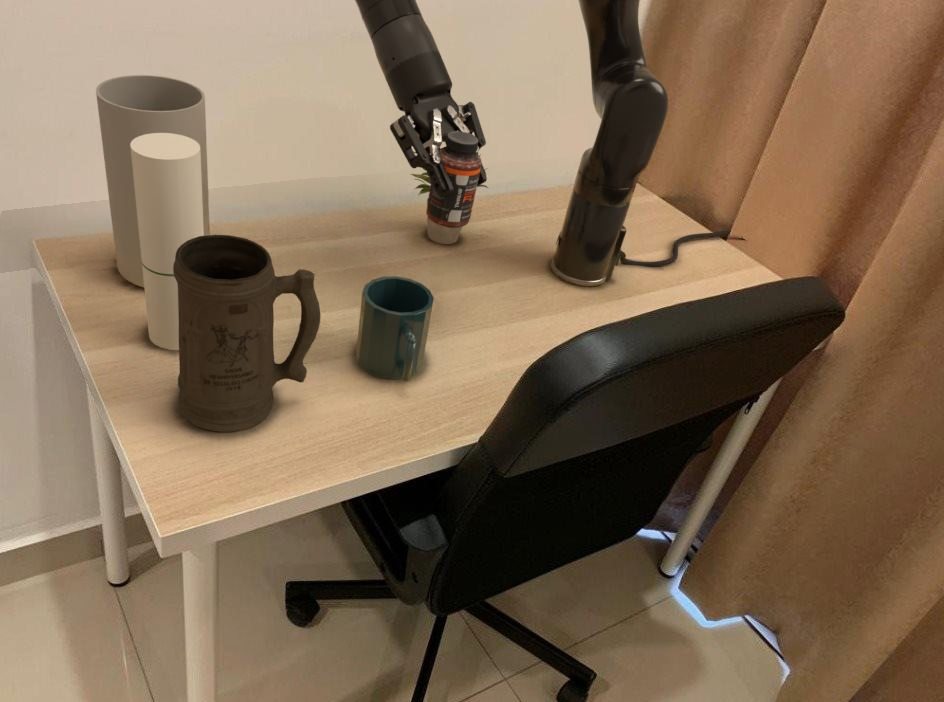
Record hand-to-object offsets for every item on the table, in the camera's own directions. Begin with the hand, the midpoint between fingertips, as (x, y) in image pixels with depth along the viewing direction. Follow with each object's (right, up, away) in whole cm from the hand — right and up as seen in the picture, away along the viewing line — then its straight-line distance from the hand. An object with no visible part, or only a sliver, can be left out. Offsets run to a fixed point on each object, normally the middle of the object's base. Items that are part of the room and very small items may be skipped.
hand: (464, 188), depth 98 cm
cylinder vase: (-43, -9, +11) cm, 45 cm away
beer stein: (-26, -27, -7) cm, 38 cm away
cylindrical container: (-37, -19, 0) cm, 41 cm away
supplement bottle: (-2, -3, +4) cm, 6 cm away
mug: (-9, -23, +2) cm, 25 cm away
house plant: (-3, +1, +34) cm, 34 cm away
